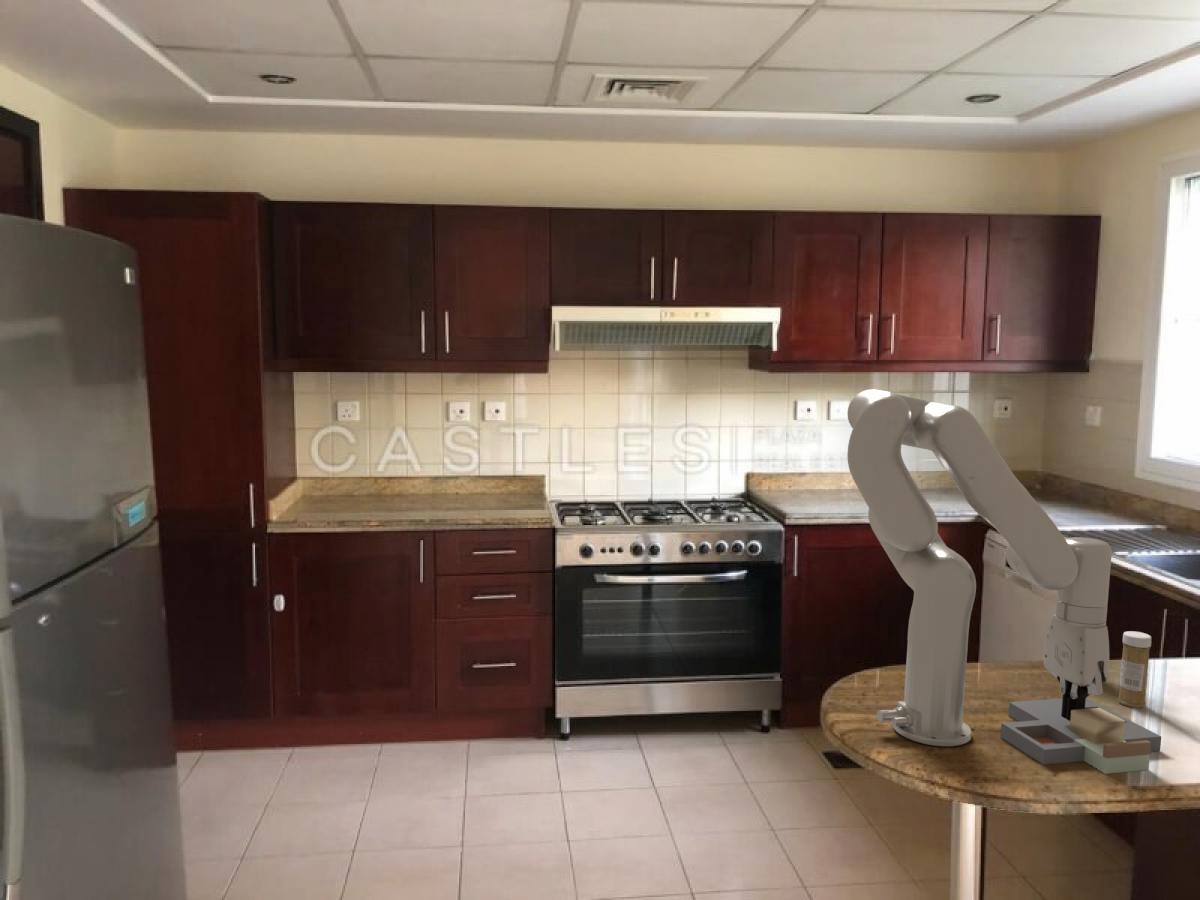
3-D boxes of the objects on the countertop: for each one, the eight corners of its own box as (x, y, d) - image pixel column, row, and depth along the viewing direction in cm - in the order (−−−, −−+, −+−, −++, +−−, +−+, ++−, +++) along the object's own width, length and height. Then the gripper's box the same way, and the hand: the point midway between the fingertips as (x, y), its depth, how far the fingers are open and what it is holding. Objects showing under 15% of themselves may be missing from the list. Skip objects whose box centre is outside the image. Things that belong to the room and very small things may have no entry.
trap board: (1063, 777, 141) (1065, 749, 141) (971, 718, 163) (973, 694, 163) (1188, 765, 146) (1190, 738, 146) (1082, 709, 169) (1084, 686, 168)
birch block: (1094, 744, 148) (1096, 723, 147) (1069, 730, 153) (1071, 710, 153) (1123, 741, 149) (1125, 720, 149) (1097, 727, 154) (1099, 707, 154)
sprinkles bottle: (1150, 705, 172) (1156, 635, 170) (1137, 710, 169) (1144, 639, 168) (1124, 697, 175) (1131, 628, 174) (1112, 702, 173) (1118, 632, 171)
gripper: (1030, 601, 160) (1023, 703, 162) (1095, 627, 145) (1086, 738, 147) (1067, 599, 161) (1059, 700, 163) (1135, 624, 147) (1126, 734, 149)
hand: (1072, 718), depth 155 cm, fingers closed
